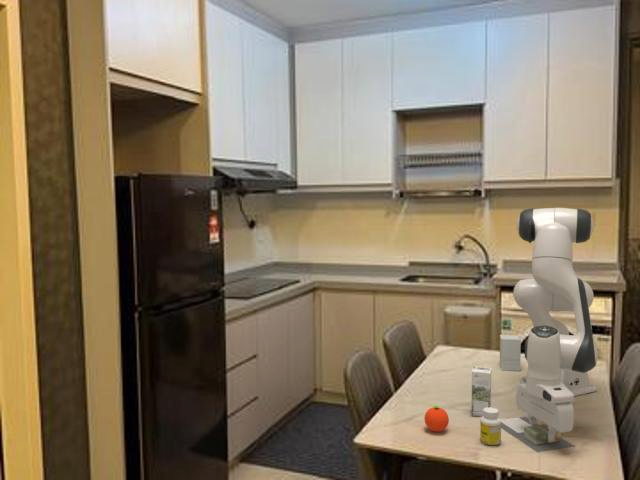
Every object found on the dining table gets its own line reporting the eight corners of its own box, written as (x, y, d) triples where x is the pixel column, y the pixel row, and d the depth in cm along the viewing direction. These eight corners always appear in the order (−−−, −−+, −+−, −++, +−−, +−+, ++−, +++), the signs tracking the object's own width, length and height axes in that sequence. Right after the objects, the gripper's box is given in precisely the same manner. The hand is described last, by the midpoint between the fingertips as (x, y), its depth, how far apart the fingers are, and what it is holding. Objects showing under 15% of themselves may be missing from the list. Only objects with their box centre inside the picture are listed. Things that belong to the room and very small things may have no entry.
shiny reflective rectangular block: (548, 433, 162) (548, 423, 162) (560, 441, 157) (560, 430, 157) (524, 437, 160) (524, 426, 159) (535, 444, 155) (535, 434, 155)
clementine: (422, 424, 171) (422, 401, 171) (445, 424, 171) (445, 401, 171) (426, 435, 163) (426, 411, 163) (450, 435, 163) (451, 411, 163)
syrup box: (491, 412, 181) (491, 366, 180) (490, 418, 175) (490, 372, 174) (472, 410, 183) (472, 365, 182) (470, 416, 177) (471, 370, 176)
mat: (525, 418, 175) (525, 416, 175) (575, 448, 154) (575, 446, 154) (490, 423, 172) (490, 420, 172) (537, 454, 151) (537, 451, 151)
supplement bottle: (477, 441, 159) (477, 406, 159) (496, 440, 160) (496, 405, 159) (484, 449, 154) (484, 413, 153) (504, 448, 154) (504, 413, 154)
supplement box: (518, 366, 230) (519, 335, 229) (520, 371, 223) (521, 339, 222) (499, 365, 232) (499, 334, 231) (500, 370, 225) (501, 338, 224)
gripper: (510, 376, 166) (510, 422, 167) (557, 399, 147) (556, 452, 148) (529, 374, 168) (528, 420, 169) (578, 397, 148) (577, 449, 149)
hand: (542, 435), depth 158 cm, fingers closed on shiny reflective rectangular block, 5 cm apart
